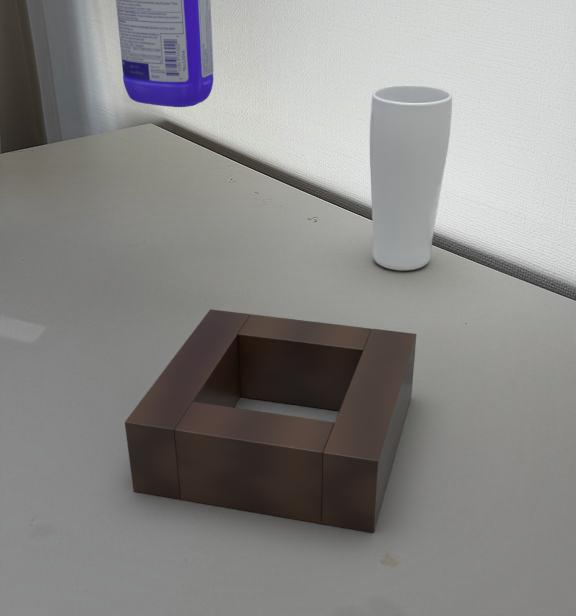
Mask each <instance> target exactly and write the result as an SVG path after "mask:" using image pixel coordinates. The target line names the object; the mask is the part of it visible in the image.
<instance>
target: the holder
mask: <svg viewBox="0 0 576 616" xmlns="http://www.w3.org/2000/svg"><path fill="white" fill-rule="evenodd" d="M416 344H417V333H413V332H406V331H405V332H403V331H396V330H389V329H380V328H370V327H363V326H353V325H345V324H338V323H328V322H320V321H319V322H318V321H312V320H304V319H294V318H288V317H287V318H286V317H277V316H269V315H260V314H253V313H245V312H236V311H229V310H228V311H227V310H222V309H221V310H220V309H209V310H208V311H207V313H206V314H205V315H204V317H203V318H202V320H200V322H199V323H198V325H197V326H196V327H195V329H194V330H193V331H192V332H191V334H190V335H189V336H188V338H187V339H186V340H185V342H184V343H183V344H182V345H181V347H180V348H179V350H178V351H177V352H176V353H175V355H174V357H173V358H171V360H170V361H169V363H168V364H167V365H166V367H165V368H164V369H163V371H162V372H161V373H160V375H159V376H158V377H157V379H156V380H155V381H154V382H153V384H152V385H151V386H150V388H149V390H147V392H146V393H145V395H144V396H143V397H142V398H141V399H140V401H139V402H138V404H137V405H136V406H135V408H134V409H133V411H132V412H131V413H130V414H129V416H128V417H127V418H126V419H125V421H124V427H125V428H124V429H125V436H126V444H127V450H128V451H127V453H128V460H129V467H130V475H131V482H132V491H133V492H137V493H142V494H148V495H153V494H154V496H159V497H165V498H171V499H176V498H177V500H183V501H189V502H194V503H199V504H205V505H206V504H207V505H211V506H218V507H223V508H230V509H235V510H240V511H247V512H252V513H259V514H263V515H268V516H269V515H270V516H276V517H281V518H287V519H293V520H299V521H304V522H310V523H317V524H322V525H327V526H333V527H339V528H344V529H351V530H355V531H361V532H362V531H363V532H368V533H375V530H376V527H377V522H378V519H379V515H380V513H381V510H382V509H381V508H382V505H383V501H384V497H385V494H386V490H387V486H388V484H389V481H390V480H389V479H390V476H391V472H392V468H393V465H394V462H395V458H396V454H397V450H398V447H399V444H400V439H401V437H402V432H403V428H404V425H405V421H406V418H407V414H408V410H409V406H410V405H411V399H412V395H413V381H414V380H413V379H414V370H415V357H416V346H417V345H416ZM240 398H246V399H254V400H260V401H267V402H273V403H274V402H275V403H280V404H281V403H282V404H289V405H295V406H301V407H302V406H304V407H311V408H318V409H325V410H330V411H331V410H332V411H338V414H337V416H336V419H335V421H334V422H333V421H329V420H322V419H321V420H320V419H314V418H308V417H301V416H293V415H287V414H281V413H275V412H274V413H273V412H266V411H261V410H260V411H259V410H251V409H246V408H245V409H244V408H240V407H239V408H238V407H235V406H236V405H237V403H238V402H239V399H240Z"/></svg>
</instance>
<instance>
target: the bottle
mask: <svg viewBox="0 0 576 616" xmlns="http://www.w3.org/2000/svg"><path fill="white" fill-rule="evenodd" d="M115 7H116V16H117V25H118V37H119V47H120V57H121V66H122V67H121V68H122V80H123V86H124V88H125V91H126V93H127V95H128V97H129V99H131V100H132V101H134V102H136V103H139V104H146V105H151V106H161V107H171V108H172V107H173V108H188V107H193V106H196V105H199V104H201V103H203V102H204V101H205V100H207V99H208V98H209V96H210V95H211V93H212V90H213V85H214V53H213V29H212V26H213V25H212V4H211V0H115Z"/></svg>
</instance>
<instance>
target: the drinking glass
mask: <svg viewBox="0 0 576 616" xmlns="http://www.w3.org/2000/svg"><path fill="white" fill-rule="evenodd" d="M452 110H453V94H452V93H451V92H450V91H448V90H446V89H444V88H440V87H437V86H431V85H422V84H397V85H395V84H394V85H387V86H382V87H379V88H377V89H375V90H373V92H372V93H371V102H370V113H369V133H368V135H369V137H368V142H369V147H368V148H369V167H370V168H369V170H370V171H369V172H370V193H371V195H370V196H371V197H370V198H371V217H372V218H371V219H372V246H371V247H372V249H371V254H372V258H373V260H374V261H375V263H376V264H377V265H379V266H381V267H383V268H386V269H388V270H394V271H404V272H405V271H414V270H418V269H420V268H424V267H425V266H426V265H427V264H428V263H429V262H430V260H431V257H432V250H433V249H432V248H433V238H434V233H435V226H436V220H437V215H438V209H439V204H440V197H441V192H442V186H443V180H444V175H445V169H446V165H447V164H446V163H447V157H448V153H449V146H450V145H449V144H450V137H451V126H452V114H453V113H452Z"/></svg>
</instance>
